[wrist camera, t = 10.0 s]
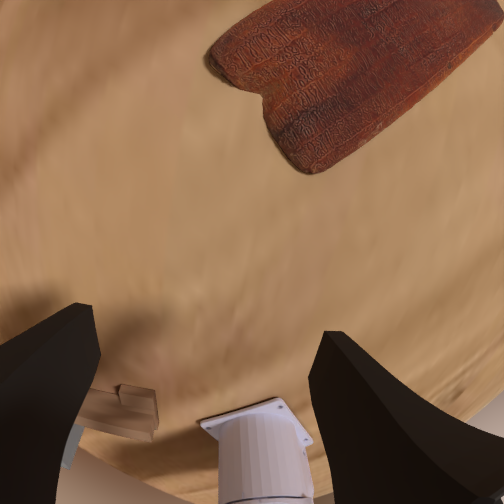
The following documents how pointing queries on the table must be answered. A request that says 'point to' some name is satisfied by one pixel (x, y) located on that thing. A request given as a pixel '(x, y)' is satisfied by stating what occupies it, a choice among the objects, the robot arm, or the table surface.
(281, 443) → the robot arm
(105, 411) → the walnut slotted stand
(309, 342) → the table surface
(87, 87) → the table surface
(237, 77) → the wooden tablet
